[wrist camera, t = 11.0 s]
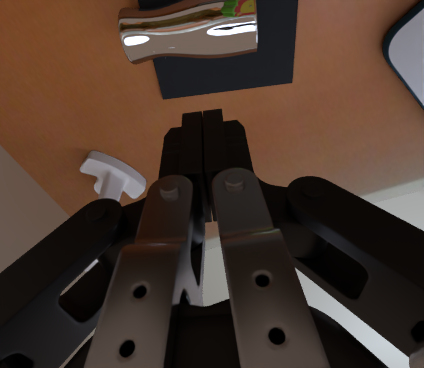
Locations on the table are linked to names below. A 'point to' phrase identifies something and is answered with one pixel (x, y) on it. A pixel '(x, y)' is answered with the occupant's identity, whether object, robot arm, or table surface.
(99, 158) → the joystick
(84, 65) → the table surface
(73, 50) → the table surface
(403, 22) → the external hard drive
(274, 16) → the mat
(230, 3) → the beer glass
